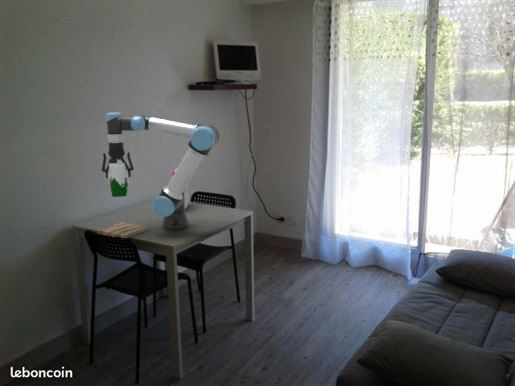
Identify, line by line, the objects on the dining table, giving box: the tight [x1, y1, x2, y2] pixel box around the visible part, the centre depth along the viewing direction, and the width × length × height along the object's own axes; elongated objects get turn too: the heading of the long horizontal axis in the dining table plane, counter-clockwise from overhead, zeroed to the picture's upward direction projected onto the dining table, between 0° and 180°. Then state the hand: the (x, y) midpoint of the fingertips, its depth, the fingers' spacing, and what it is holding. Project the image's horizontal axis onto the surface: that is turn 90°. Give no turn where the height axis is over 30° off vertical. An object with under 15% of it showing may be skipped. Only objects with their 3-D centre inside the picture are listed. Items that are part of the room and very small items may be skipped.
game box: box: [172, 168, 190, 210], centre depth 295 cm, size 21×6×27 cm, turn 178°
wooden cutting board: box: [96, 222, 148, 239], centre depth 248 cm, size 20×18×2 cm
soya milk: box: [108, 158, 129, 198], centre depth 242 cm, size 9×9×20 cm
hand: (119, 183), depth 243 cm, fingers closed on soya milk, 9 cm apart
